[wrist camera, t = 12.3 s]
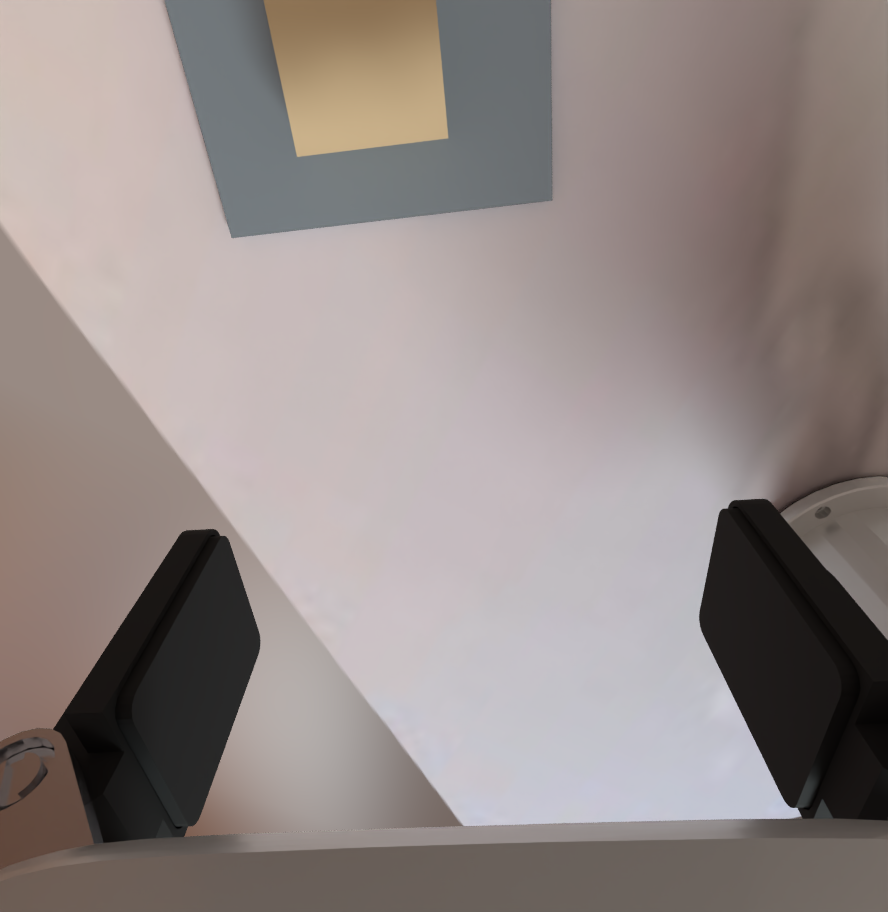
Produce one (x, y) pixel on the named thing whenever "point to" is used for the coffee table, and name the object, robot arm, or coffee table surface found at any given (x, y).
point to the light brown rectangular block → (359, 72)
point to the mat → (380, 168)
